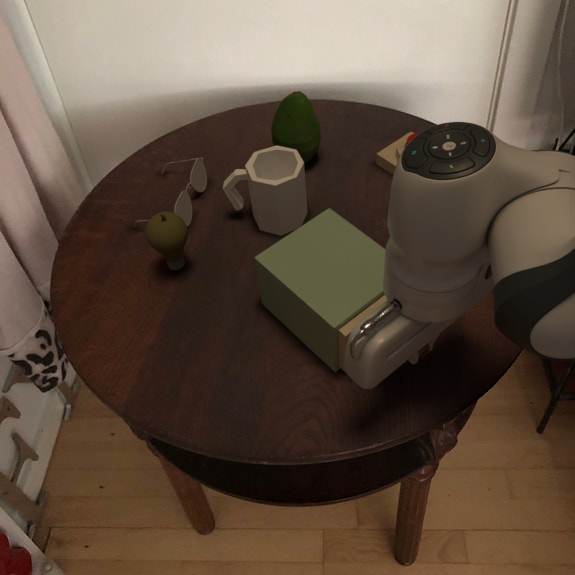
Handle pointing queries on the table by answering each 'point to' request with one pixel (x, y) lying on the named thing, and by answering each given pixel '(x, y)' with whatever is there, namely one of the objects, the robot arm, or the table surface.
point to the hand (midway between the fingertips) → (417, 353)
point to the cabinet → (321, 280)
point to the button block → (391, 154)
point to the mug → (272, 189)
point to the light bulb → (168, 237)
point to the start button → (411, 137)
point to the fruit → (296, 126)
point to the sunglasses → (197, 182)
